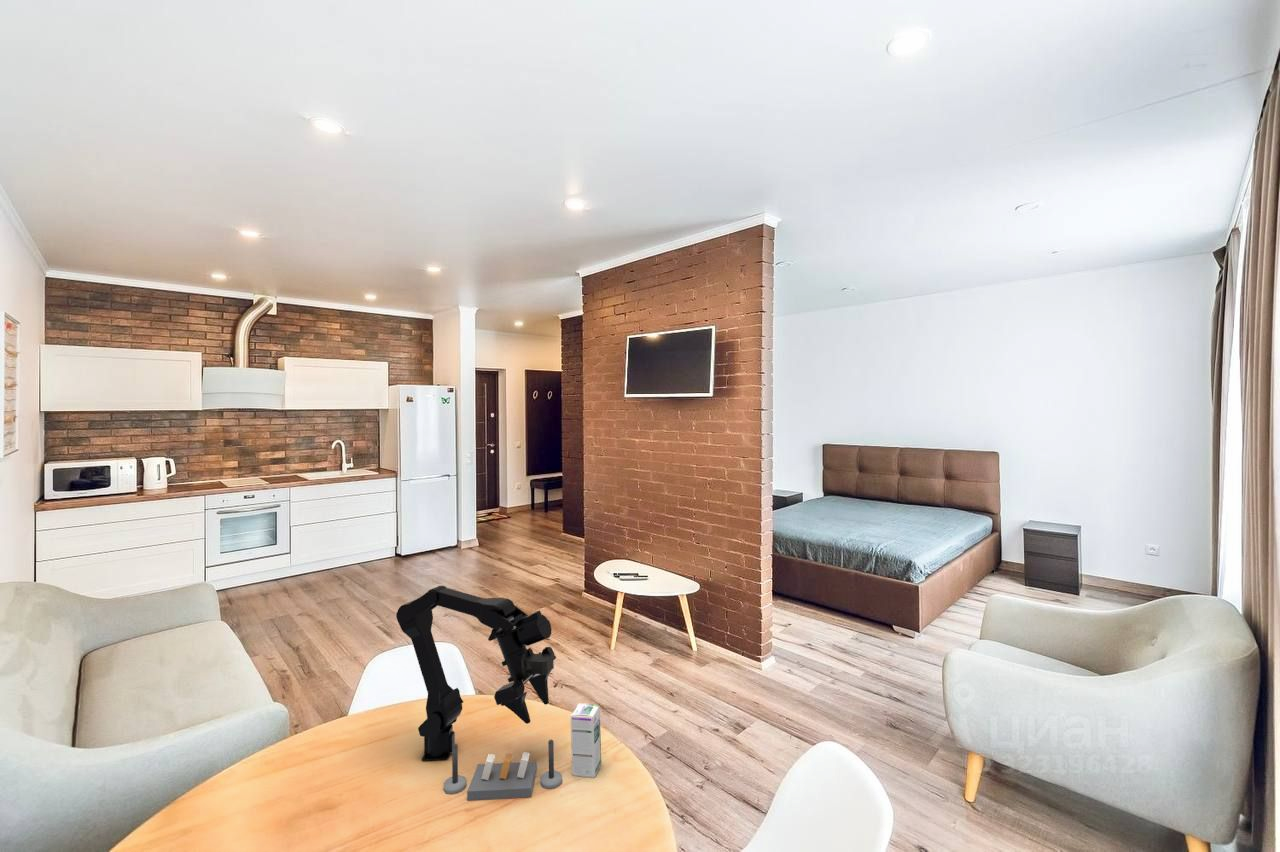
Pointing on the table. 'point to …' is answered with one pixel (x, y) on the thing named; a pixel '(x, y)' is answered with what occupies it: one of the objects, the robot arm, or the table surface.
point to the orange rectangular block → (505, 766)
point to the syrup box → (586, 740)
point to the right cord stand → (551, 771)
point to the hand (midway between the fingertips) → (538, 713)
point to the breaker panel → (502, 783)
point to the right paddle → (523, 765)
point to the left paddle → (488, 767)
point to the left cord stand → (455, 776)
